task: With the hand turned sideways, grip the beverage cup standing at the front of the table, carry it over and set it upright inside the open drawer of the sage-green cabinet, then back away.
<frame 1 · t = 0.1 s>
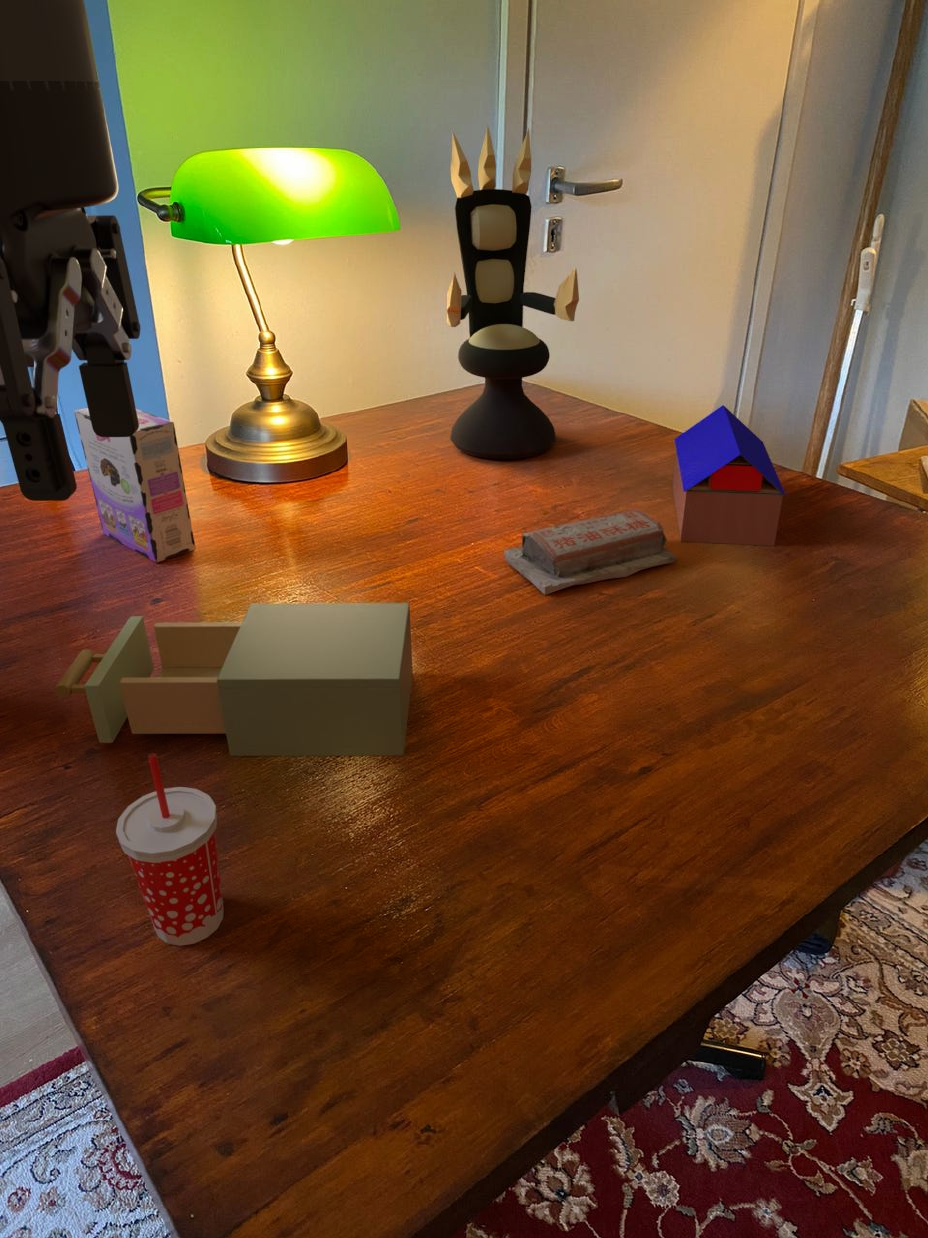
hand: (87, 463, 44), 33 cm above the table, tool pointing down, fingers open, 8 cm apart
beverage cup: (190, 920, 62), on the table
spiked throne chair: (497, 442, 147), on the table
candy box: (148, 543, 115), on the table
cabinet: (327, 711, 83), on the table
drawer: (167, 676, 81), point 4 cm above the table, slide at 10.0 cm
packaged product: (588, 565, 108), on the table
house: (719, 514, 121), on the table
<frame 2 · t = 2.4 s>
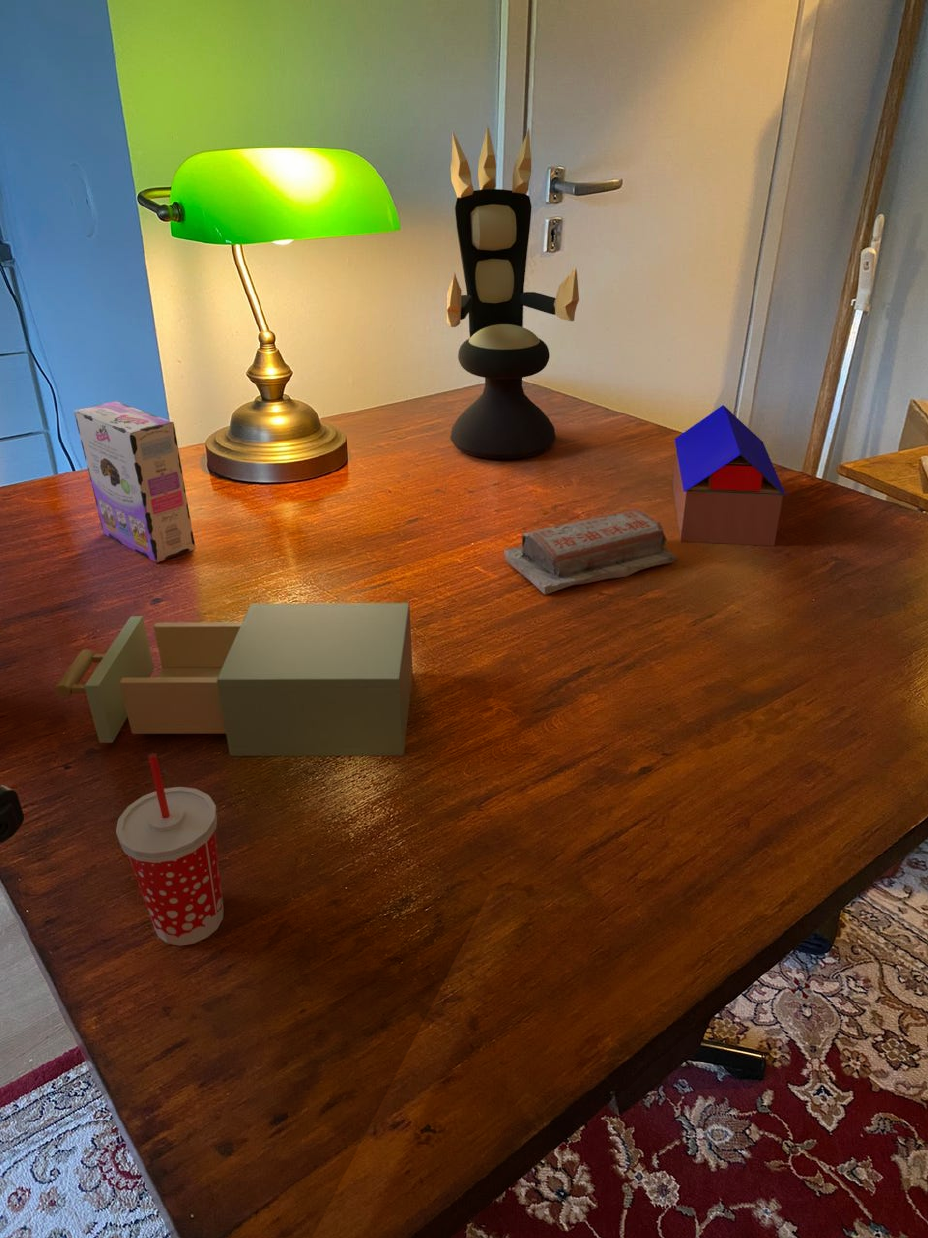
nothing on the table moved.
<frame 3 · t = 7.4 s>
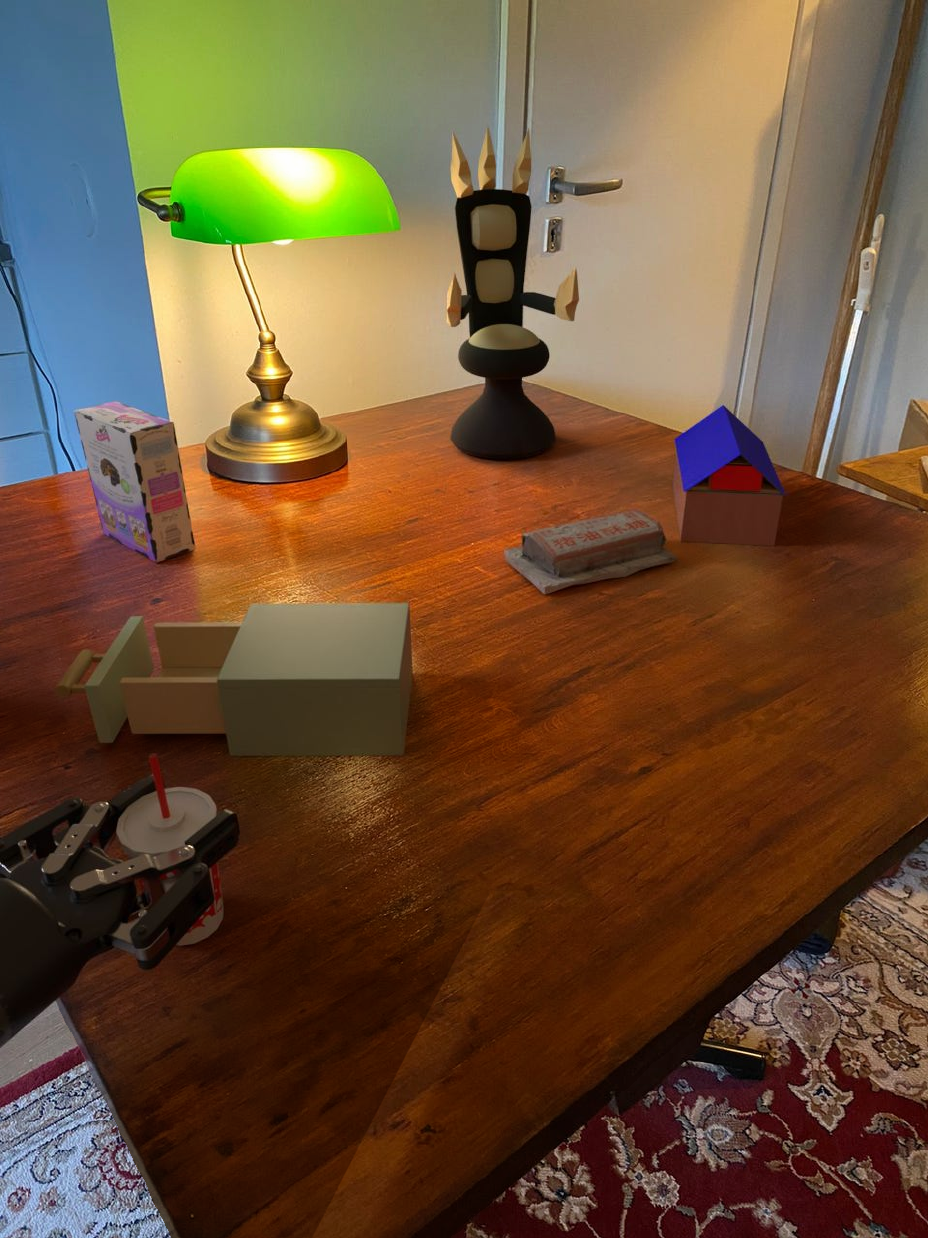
hand: (196, 803, 59), 8 cm above the table, tool horizontal, fingers closed on beverage cup, 6 cm apart
beverage cup: (189, 920, 62), on the table, touching gripper
everything else where it was.
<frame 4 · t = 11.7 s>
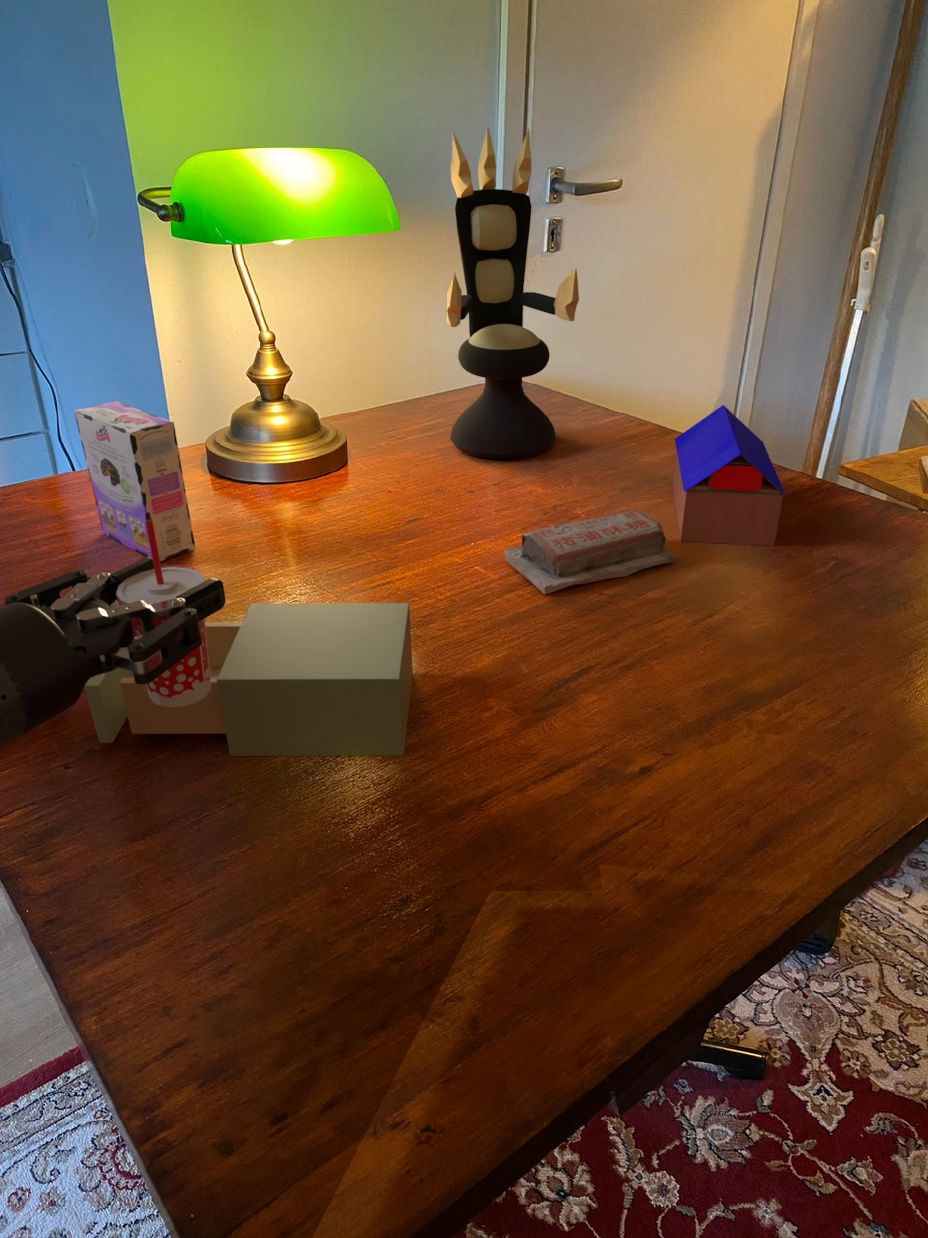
hand: (187, 579, 67), 18 cm above the table, tool horizontal, fingers closed on beverage cup, 6 cm apart
beverage cup: (181, 692, 69), point 9 cm above the table, touching gripper
everything else where it was.
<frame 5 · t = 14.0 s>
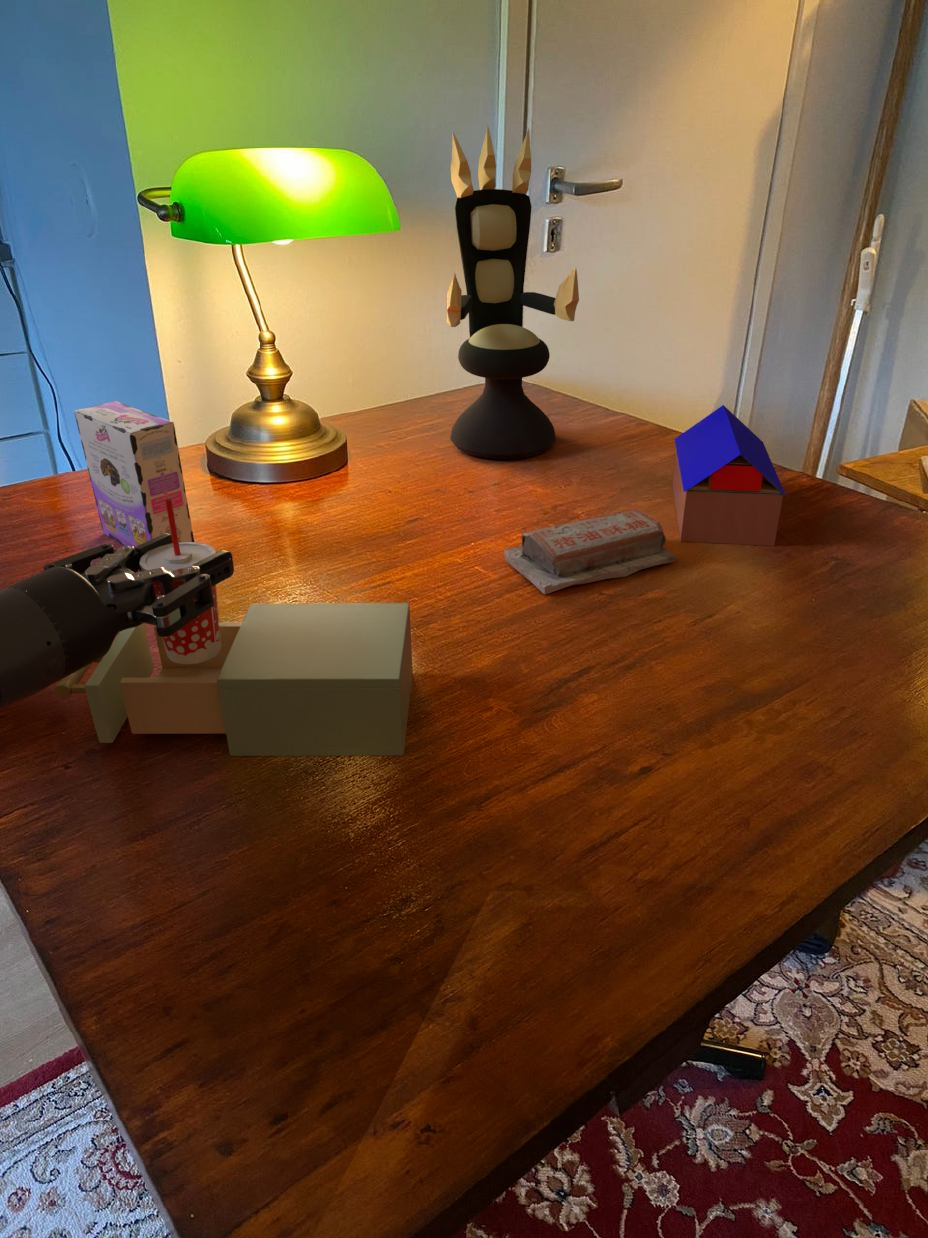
hand: (200, 552, 77), 15 cm above the table, tool horizontal, fingers closed on beverage cup, 6 cm apart
beverage cup: (194, 652, 79), point 7 cm above the table, touching gripper
everything else where it was.
when the fingers open (11 cm above the table, at t = 16.0 s): beverage cup stays where it is, resting on drawer.
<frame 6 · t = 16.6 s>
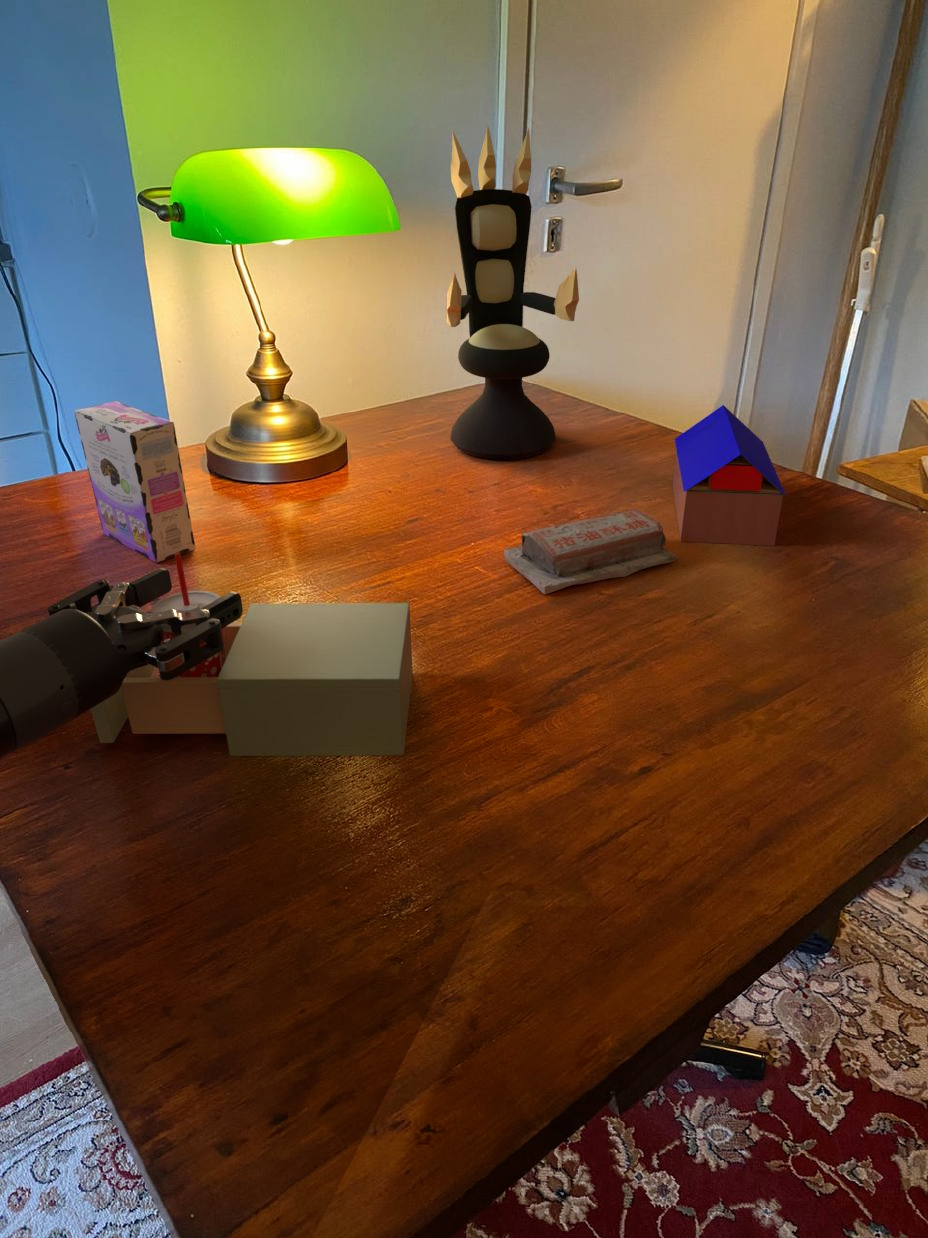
hand: (202, 589, 78), 12 cm above the table, tool horizontal, fingers open, 8 cm apart
beverage cup: (203, 696, 82), point 2 cm above the table, touching drawer
drawer: (168, 676, 81), point 4 cm above the table, slide at 9.9 cm, touching beverage cup
everything else where it was.
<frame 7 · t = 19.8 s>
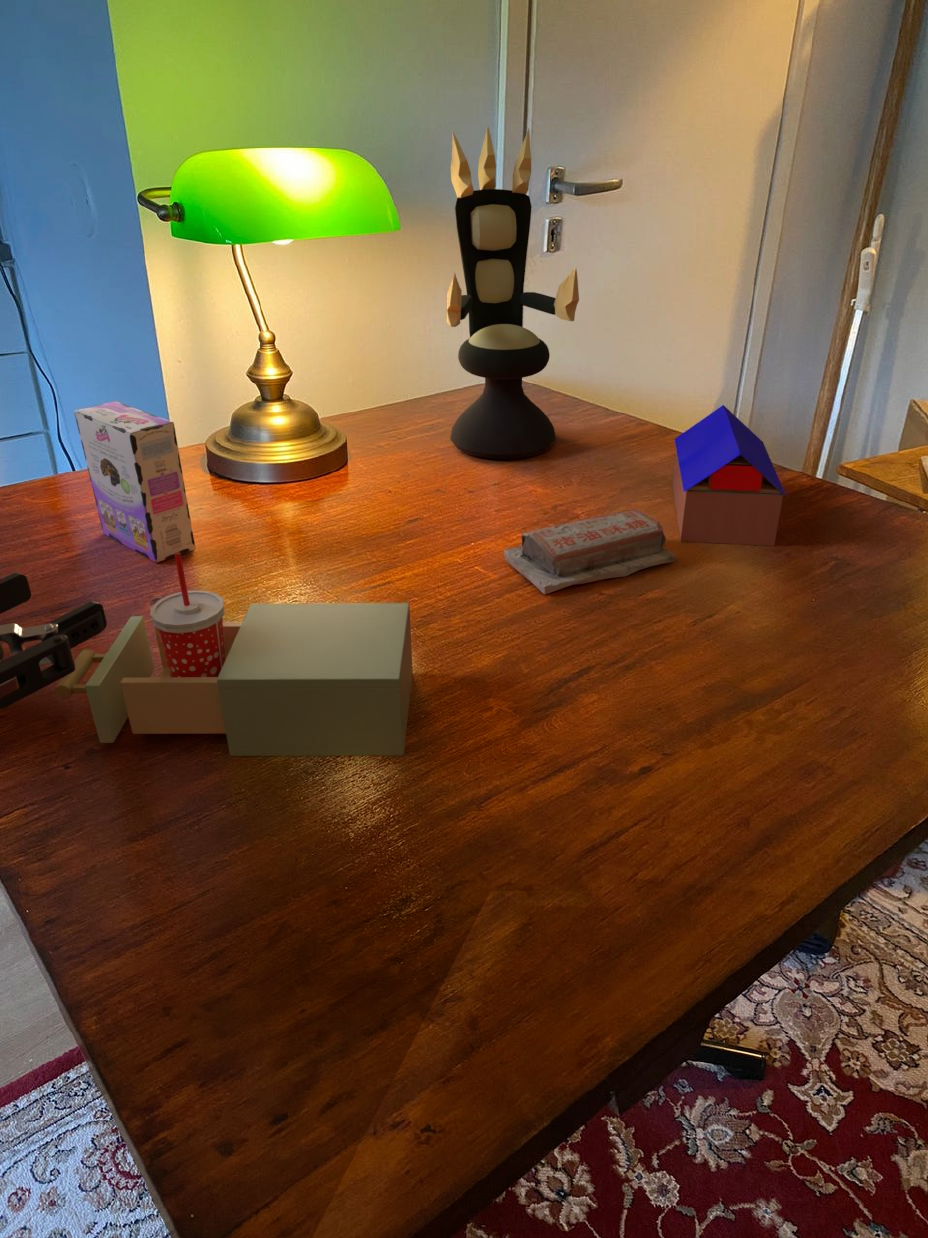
hand: (62, 598, 66), 17 cm above the table, tool horizontal, fingers open, 8 cm apart
nothing on the table moved.
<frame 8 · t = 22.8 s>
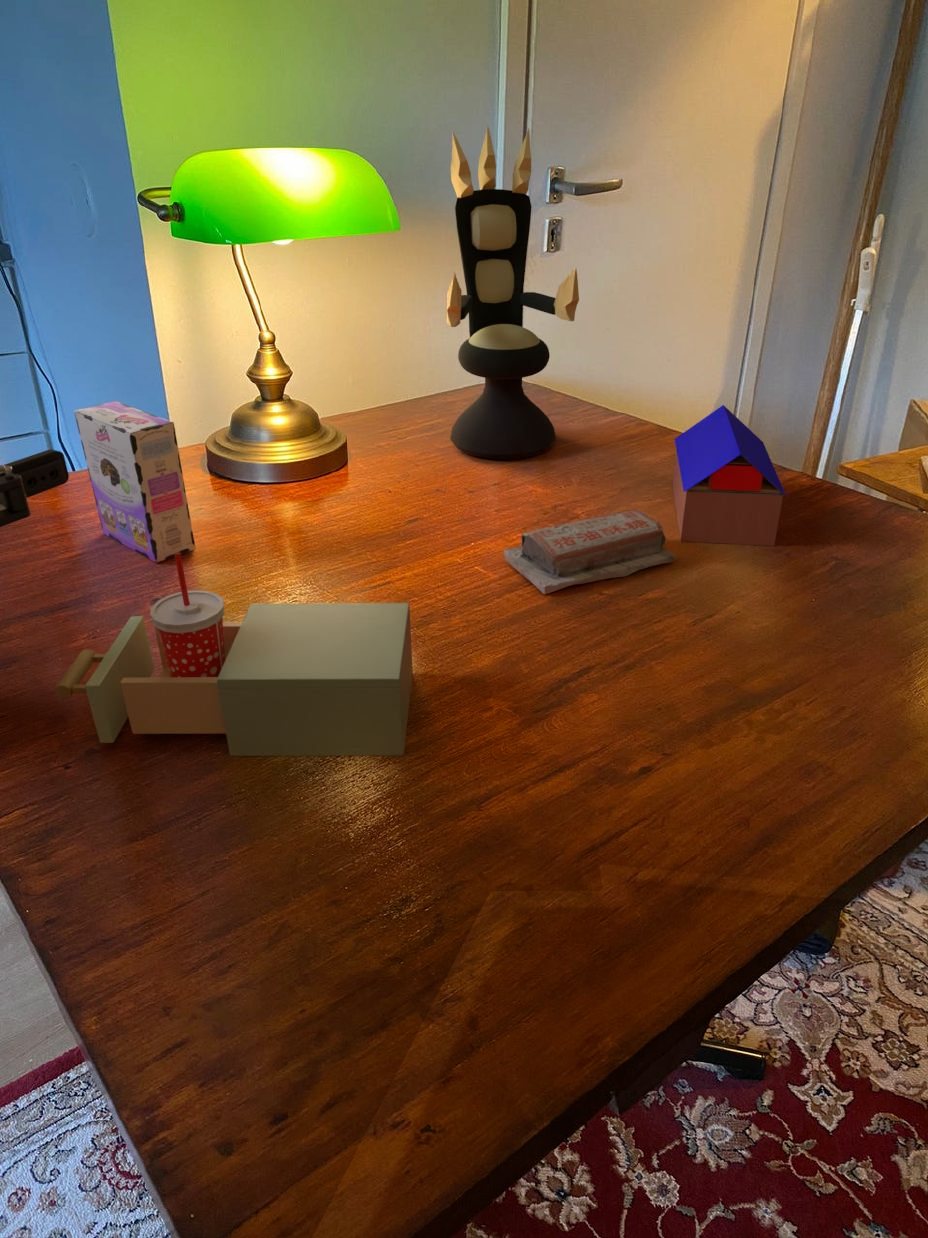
hand: (21, 453, 61), 28 cm above the table, tool horizontal, fingers open, 8 cm apart
nothing on the table moved.
at the end: beverage cup inside the target area in the drawer (0.2 cm from its centre), point 1.9 cm above the cabinet's base; beverage cup tilted 0°; the gripper is holding nothing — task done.
